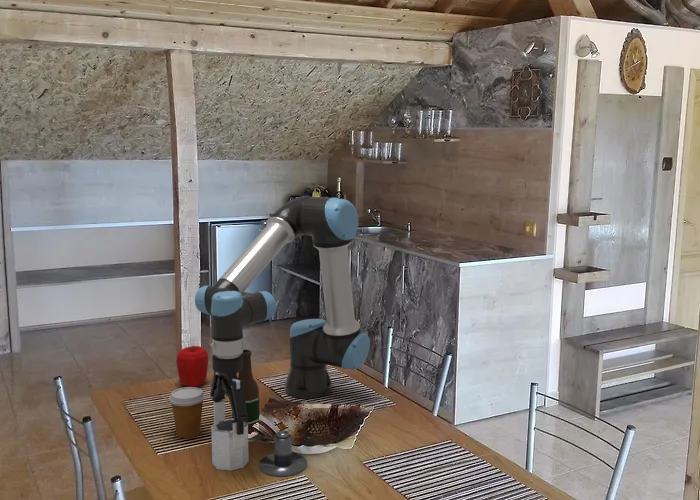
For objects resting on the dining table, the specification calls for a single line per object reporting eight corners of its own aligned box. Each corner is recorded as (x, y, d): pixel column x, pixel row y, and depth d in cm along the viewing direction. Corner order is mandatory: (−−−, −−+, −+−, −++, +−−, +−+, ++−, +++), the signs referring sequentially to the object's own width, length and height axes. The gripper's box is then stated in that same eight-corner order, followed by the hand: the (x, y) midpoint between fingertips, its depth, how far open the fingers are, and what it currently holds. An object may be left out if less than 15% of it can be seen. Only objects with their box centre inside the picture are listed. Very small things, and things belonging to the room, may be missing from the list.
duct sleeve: (239, 452, 185) (239, 416, 183) (252, 465, 178) (251, 427, 176) (209, 459, 181) (207, 422, 179) (220, 473, 174) (219, 435, 172)
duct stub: (294, 450, 186) (294, 419, 185) (315, 469, 176) (315, 436, 174) (251, 461, 180) (251, 429, 179) (271, 481, 170) (270, 447, 169)
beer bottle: (265, 430, 199) (263, 348, 195) (252, 441, 191) (251, 356, 187) (240, 426, 201) (238, 345, 197) (227, 437, 194) (225, 353, 190)
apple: (184, 378, 239) (182, 340, 237) (213, 380, 238) (212, 341, 235) (172, 390, 229) (170, 349, 226) (202, 391, 227) (201, 351, 225)
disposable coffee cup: (197, 442, 191) (196, 400, 189) (164, 439, 192) (163, 397, 190) (211, 428, 200) (210, 387, 198) (179, 425, 202) (178, 385, 200)
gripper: (196, 343, 183) (198, 421, 187) (231, 371, 162) (232, 458, 165) (224, 339, 187) (225, 415, 190) (261, 366, 166) (262, 451, 169)
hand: (228, 435), depth 178 cm, fingers open, 13 cm apart
